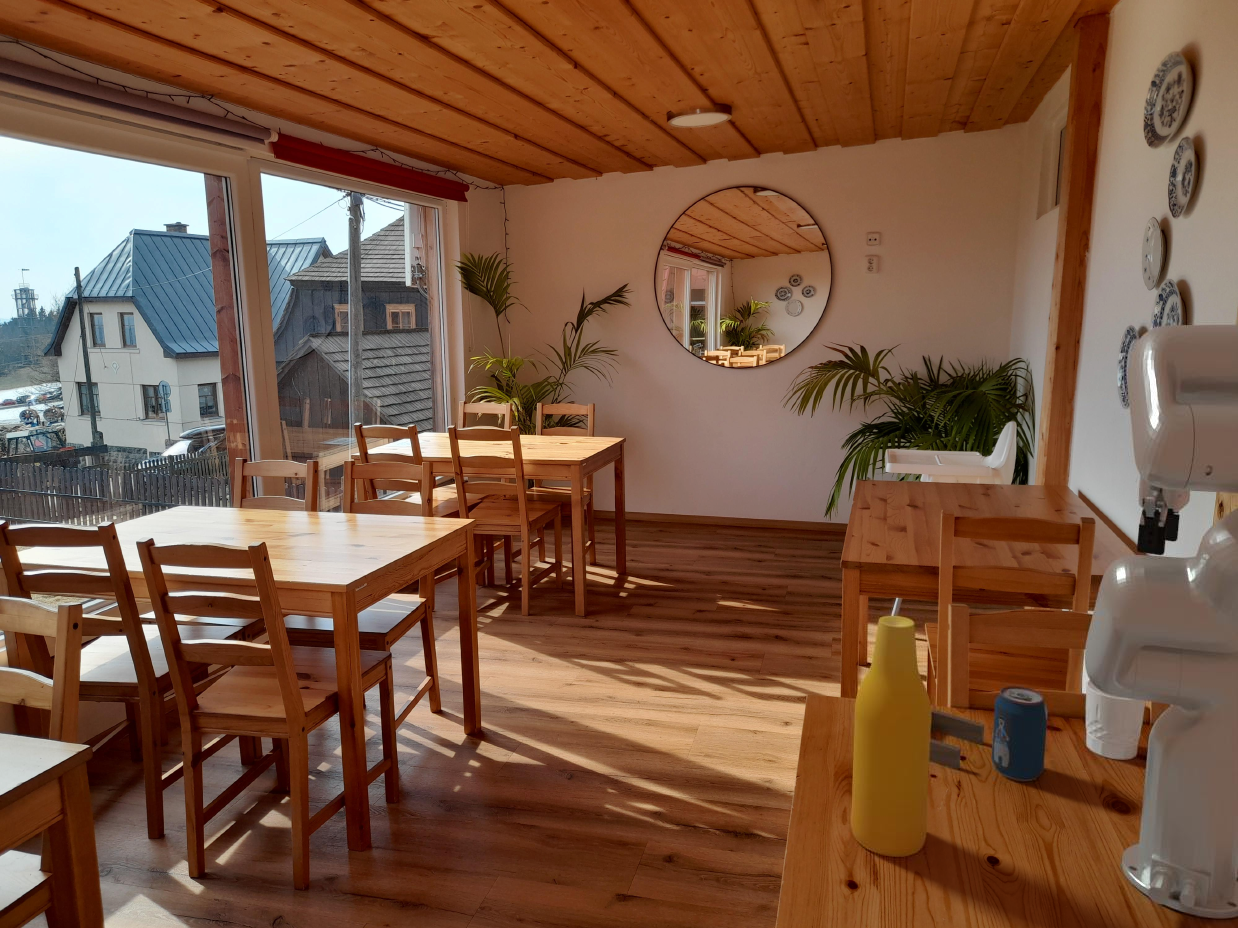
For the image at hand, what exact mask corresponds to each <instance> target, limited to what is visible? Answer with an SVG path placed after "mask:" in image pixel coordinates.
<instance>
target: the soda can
mask: <svg viewBox="0 0 1238 928" xmlns="http://www.w3.org/2000/svg"><path fill="white" fill-rule="evenodd" d="M1044 700H1045V698H1044V696H1043V694H1042V693H1041V692H1039V691H1037V690H1035V689H1032V688H1030V687H1026V686H1025V687H1024V686H1017V685H1011V686H1005V687H1003V688H1001V689H1000V692H999V695H997V697H996V699H995V701H994V716H993V728H992V729H993V730H992V746H991V747H992V748H991V762H992V763H993V765H994V767H995V769H996V771H997V772H998V773H999V774H1000V775H1001V776H1004V777H1006V778H1009V779H1011V780H1014V781H1018V782H1030V781H1034V780H1036V779H1037V778H1038V777H1039V776H1040V775H1041V774H1042V772H1043V771H1044V769H1045V753H1046V739H1047V738H1046V737H1047V726H1048V725H1047V724H1048V713H1049V710H1048V707H1047V704H1046V703H1045V701H1044Z"/></svg>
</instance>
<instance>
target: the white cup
mask: <svg viewBox="0 0 1238 928" xmlns="http://www.w3.org/2000/svg"><path fill="white" fill-rule="evenodd" d="M1085 685H1086V688H1085V689H1086V691H1085V692H1086V693H1085V729H1086V730H1085V731H1086V735H1085V736H1086V737H1085V743H1086V747H1087V748H1088V749H1089V750H1090V751H1091V752H1093V753H1094V754H1096V755H1099V756H1102V757H1105V758H1108V759H1113V760H1119V761H1120V760H1122V761H1123V760H1125V761H1126V760H1131V759H1134V758H1136V756H1137V753H1138V745H1139V739H1140V736H1141V733H1142V732H1141V731H1142V727H1143V721H1144V712H1145V706H1146V701H1143V700H1135V699H1128V698H1122V697H1117V696H1112V695H1108V694H1106V693H1103V692H1101V691H1100V690H1098V689H1097V688H1096V687H1095V686H1094V685H1093V684H1092V683H1091V681H1090V679H1089V680H1088V681H1086V684H1085Z"/></svg>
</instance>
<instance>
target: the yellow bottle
mask: <svg viewBox="0 0 1238 928" xmlns="http://www.w3.org/2000/svg"><path fill="white" fill-rule="evenodd" d="M915 628H916V627H915V622H914V621H913V620H912V619H910V618H908V617H904V616H899V615H885V616H881V617H879V618H878V622H877V629H876V636H875V643H874V650H873V654H872V655H873V656H872V661H871V665H870V667H869V669H868V671H867V673H866V674H865V676H864V678H863V680H862V681H861V684H860V685H859V688H858V689H857V690H858V691H857V694H856V699H855V703H854V730H853V731H854V732H853V733H854V735H853V756H852V757H853V761H852V762H853V763H852V764H853V765H852V793H851V810H850V828H851V832H852V835H853V837H854V839H855V840H856V842H858V843H859V844H860V845H861V846H862V847H863V848H865V849H867V850H868V851H871V852H873V853H875V854H878V855H881V856H885V857H891V858H902V857H903V858H904V857H909V856H912V855H915V854H916V853H918V852H919V851H920V850H922V848H923V847H924V845H925V841H926V839H927V838H926V837H927V814H928V812H927V811H928V793H929V792H928V791H929V772H930V770H929V767H930V760H929V753H930V739H931V732H932V731H931V730H932V729H931V709H932V705H931V699H930V697H929V693H928V691H927V688H926V685H925V684H924V681H923V679H922V677H921V674H920V671H919V668H918V657H917V643H916V642H917V641H916V629H915Z"/></svg>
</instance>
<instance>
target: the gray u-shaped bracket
mask: <svg viewBox="0 0 1238 928" xmlns="http://www.w3.org/2000/svg"><path fill="white" fill-rule="evenodd" d="M932 729H933V731H935V730H936V732H939V731H940V732H939V733H942V732H943V733H942V734H945V733H946V735H948V736H951V737H955V738H958V739H962V740H965V741H968V742H971V743H975V744H977V745H980V746H981V745H982V744H983V743H984V739H985V724H984V723H982V722H981V723H980V722H977V721H973V720H970V719H967V718H963V717H960V716H956V715H953V714H950V713H947V712H943V711H939V710H938V709H937V710H936V709H932V708H931V730H932ZM961 752H962V751H961V747H958V746H955V745H951V744H949V743H945V742H942V741H940V740H936V739H933V738H930V753H929V762H930V761H931V762H933V763H936V764H939V765H942V766H945V767H948V768H951V769H953V770H958V769H960V767H961Z"/></svg>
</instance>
